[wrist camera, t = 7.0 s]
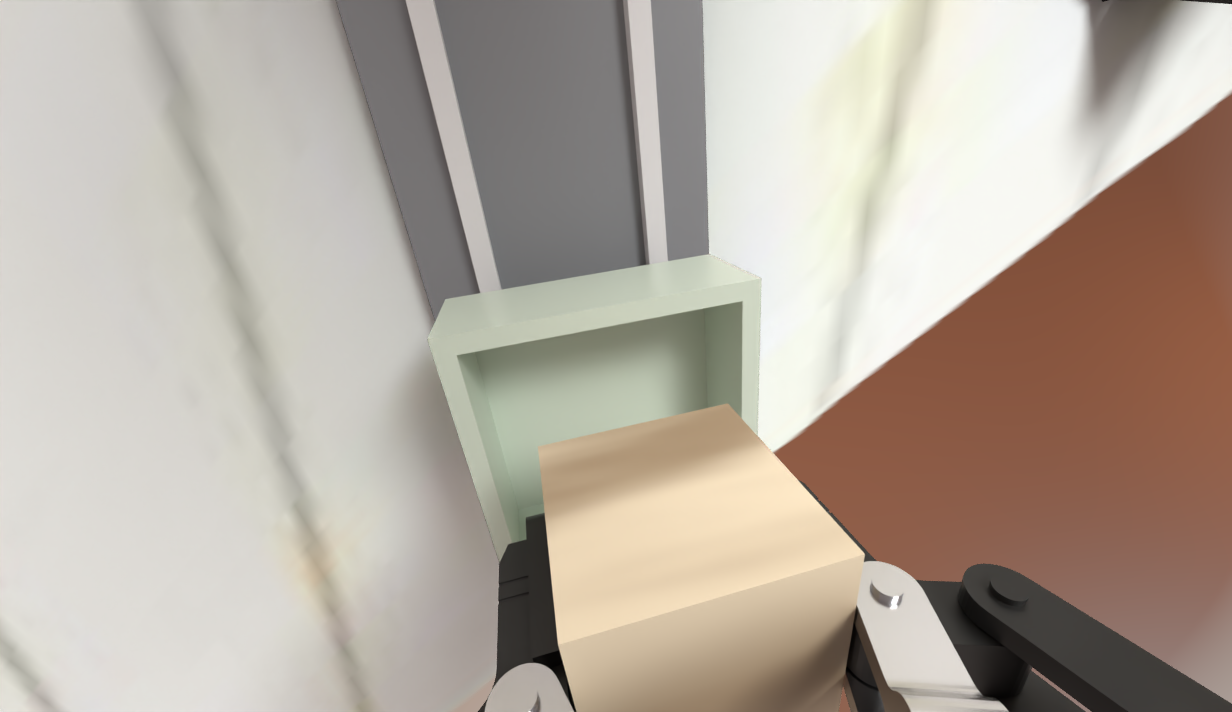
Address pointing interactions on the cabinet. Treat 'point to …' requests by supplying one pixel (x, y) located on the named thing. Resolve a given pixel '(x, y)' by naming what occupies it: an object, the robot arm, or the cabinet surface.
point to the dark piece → (1214, 0)
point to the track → (537, 134)
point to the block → (694, 571)
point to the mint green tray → (590, 366)
